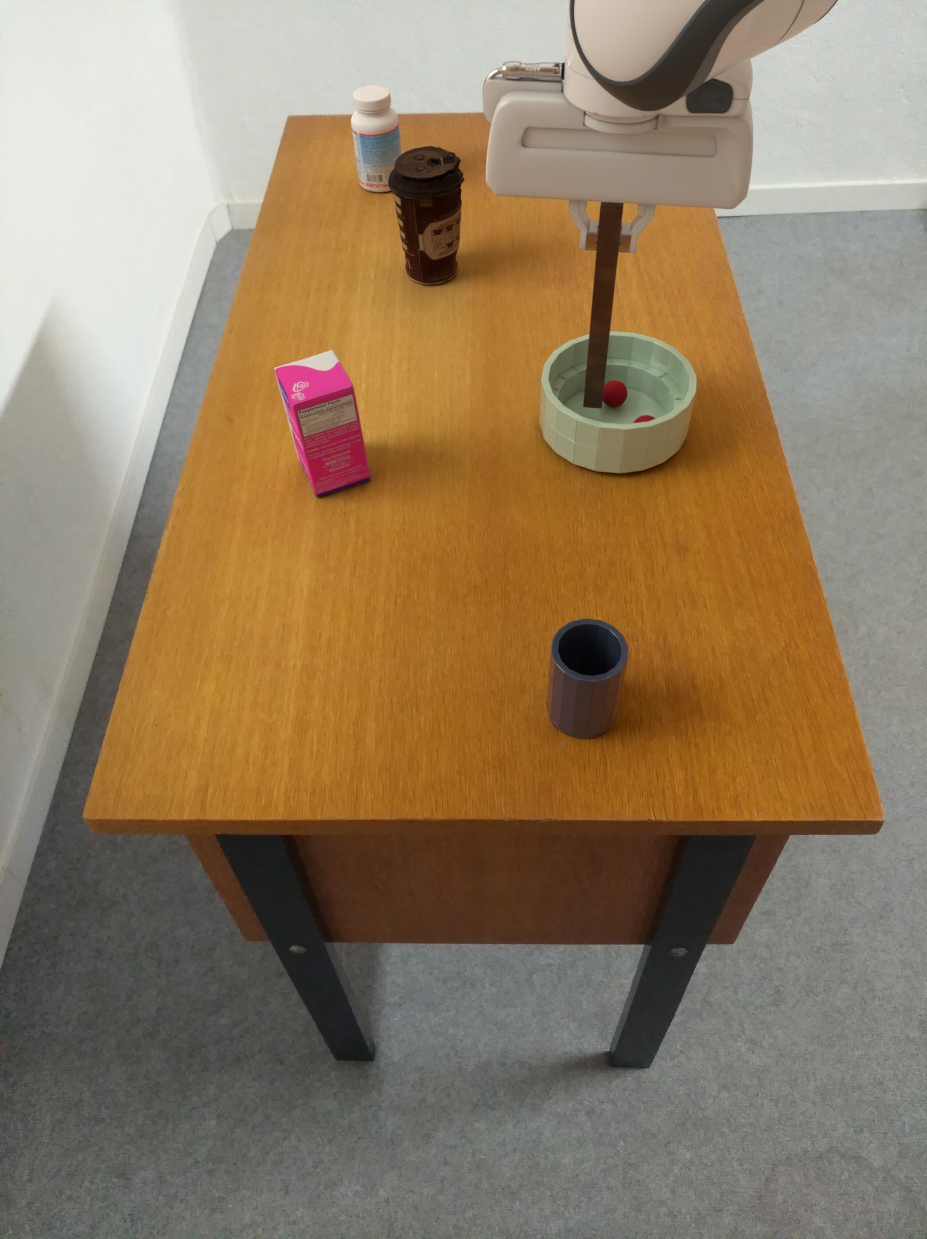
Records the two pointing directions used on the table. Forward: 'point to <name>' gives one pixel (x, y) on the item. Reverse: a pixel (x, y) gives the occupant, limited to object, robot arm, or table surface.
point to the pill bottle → (375, 136)
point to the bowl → (610, 432)
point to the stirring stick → (602, 301)
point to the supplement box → (324, 422)
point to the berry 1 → (614, 393)
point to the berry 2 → (644, 419)
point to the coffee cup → (428, 211)
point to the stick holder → (586, 677)
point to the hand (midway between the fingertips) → (608, 248)
